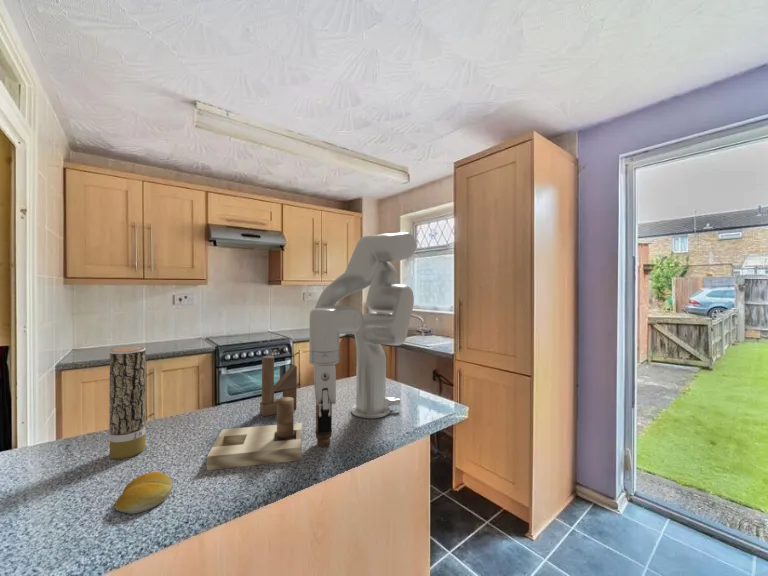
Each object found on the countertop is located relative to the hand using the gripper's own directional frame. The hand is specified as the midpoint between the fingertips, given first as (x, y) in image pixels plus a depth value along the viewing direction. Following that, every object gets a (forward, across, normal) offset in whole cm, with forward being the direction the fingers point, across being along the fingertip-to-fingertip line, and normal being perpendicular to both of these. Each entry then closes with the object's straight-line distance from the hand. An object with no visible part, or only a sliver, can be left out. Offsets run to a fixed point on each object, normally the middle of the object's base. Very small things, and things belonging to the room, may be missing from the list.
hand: (323, 426), depth 85 cm
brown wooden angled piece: (+5, +25, +13) cm, 29 cm away
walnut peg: (+4, 0, 0) cm, 4 cm away
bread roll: (+5, -15, +34) cm, 37 cm away
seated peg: (+4, 0, +10) cm, 10 cm away
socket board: (+4, 0, +16) cm, 16 cm away
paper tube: (+5, +5, +46) cm, 47 cm away
